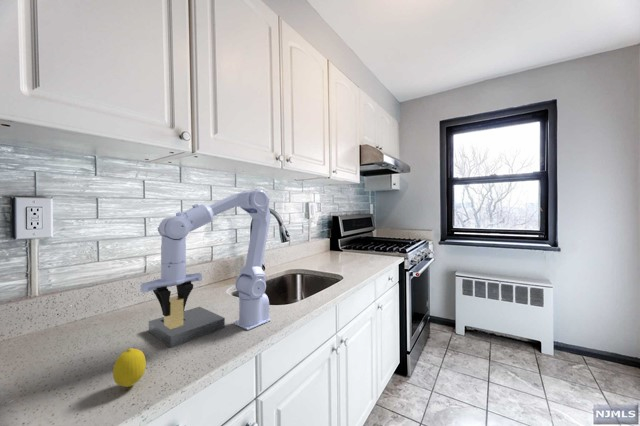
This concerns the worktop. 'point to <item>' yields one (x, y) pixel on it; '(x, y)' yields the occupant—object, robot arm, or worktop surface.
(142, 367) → the lemon
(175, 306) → the tan wooden block
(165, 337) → the peg hole base
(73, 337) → the worktop surface
